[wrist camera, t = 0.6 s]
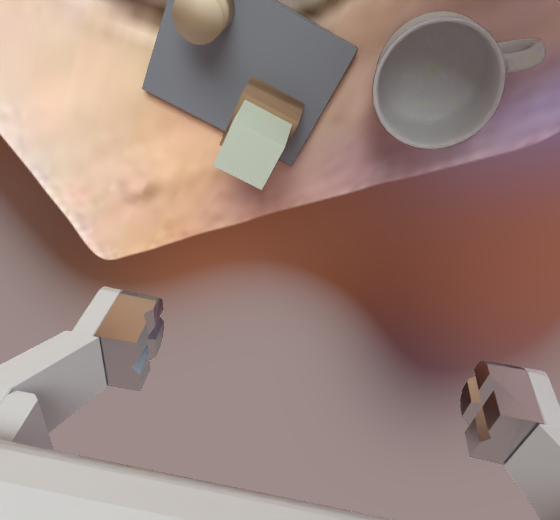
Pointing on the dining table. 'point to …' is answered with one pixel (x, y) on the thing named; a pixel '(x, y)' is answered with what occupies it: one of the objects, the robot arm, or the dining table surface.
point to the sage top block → (253, 145)
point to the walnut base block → (269, 104)
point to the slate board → (250, 65)
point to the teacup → (445, 78)
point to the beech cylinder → (202, 18)
